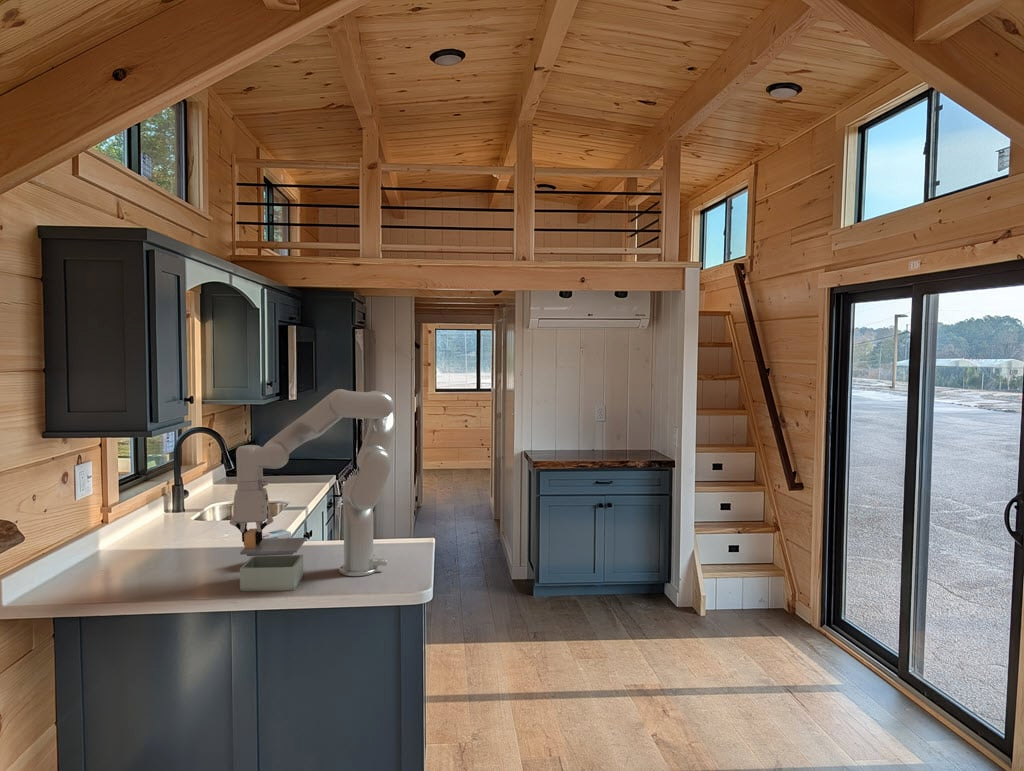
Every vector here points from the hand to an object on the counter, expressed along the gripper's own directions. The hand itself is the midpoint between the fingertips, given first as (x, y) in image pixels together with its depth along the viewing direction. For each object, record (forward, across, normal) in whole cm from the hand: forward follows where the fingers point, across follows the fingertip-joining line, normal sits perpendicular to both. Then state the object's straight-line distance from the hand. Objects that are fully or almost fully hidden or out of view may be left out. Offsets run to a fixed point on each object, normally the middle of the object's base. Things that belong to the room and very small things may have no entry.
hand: (252, 543), depth 216 cm
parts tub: (+13, -6, 0) cm, 14 cm away
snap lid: (+2, -7, 0) cm, 7 cm away
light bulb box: (+13, -1, -20) cm, 24 cm away
